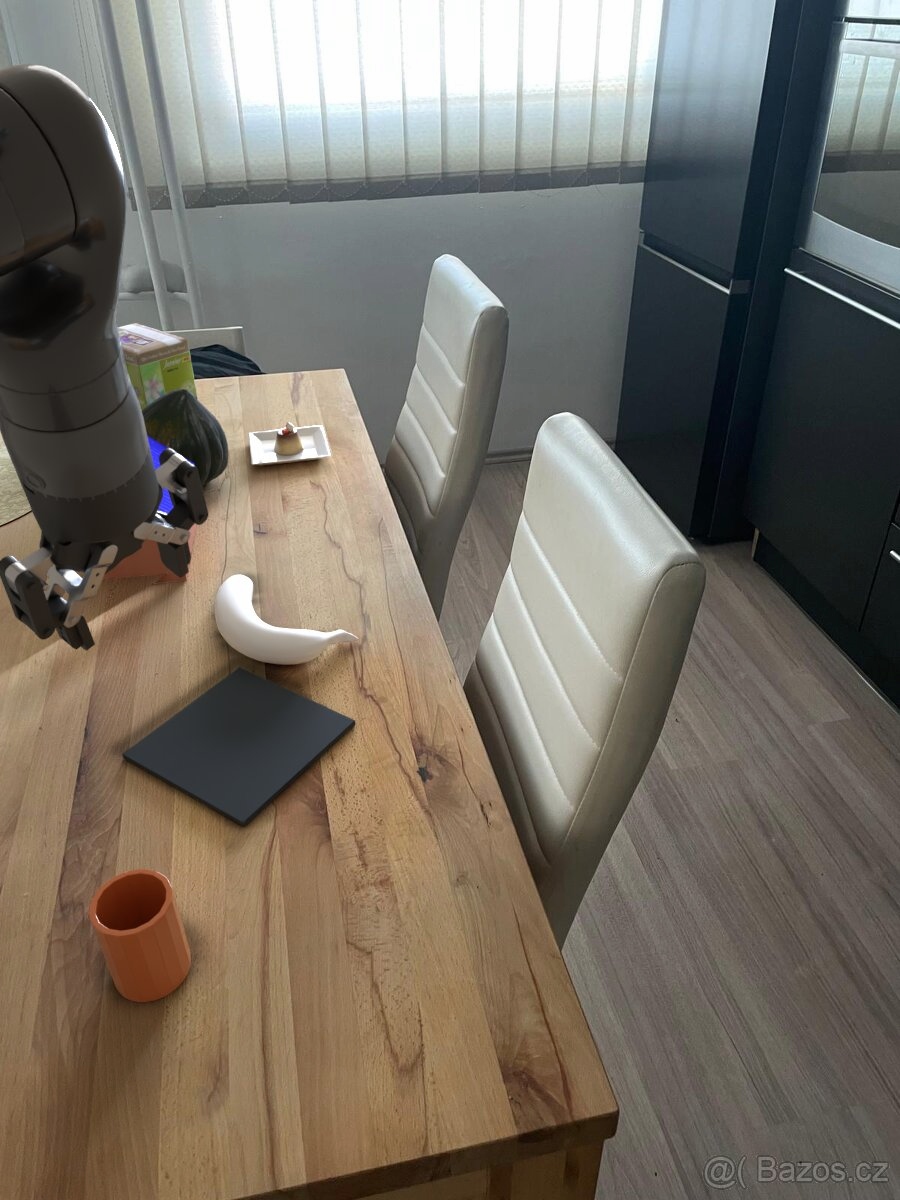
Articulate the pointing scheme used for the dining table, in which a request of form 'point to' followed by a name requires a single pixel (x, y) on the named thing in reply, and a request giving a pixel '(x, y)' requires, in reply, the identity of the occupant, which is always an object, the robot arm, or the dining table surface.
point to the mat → (239, 744)
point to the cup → (141, 934)
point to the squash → (188, 432)
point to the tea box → (156, 362)
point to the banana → (266, 629)
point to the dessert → (288, 445)
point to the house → (148, 555)
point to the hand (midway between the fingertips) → (130, 604)
